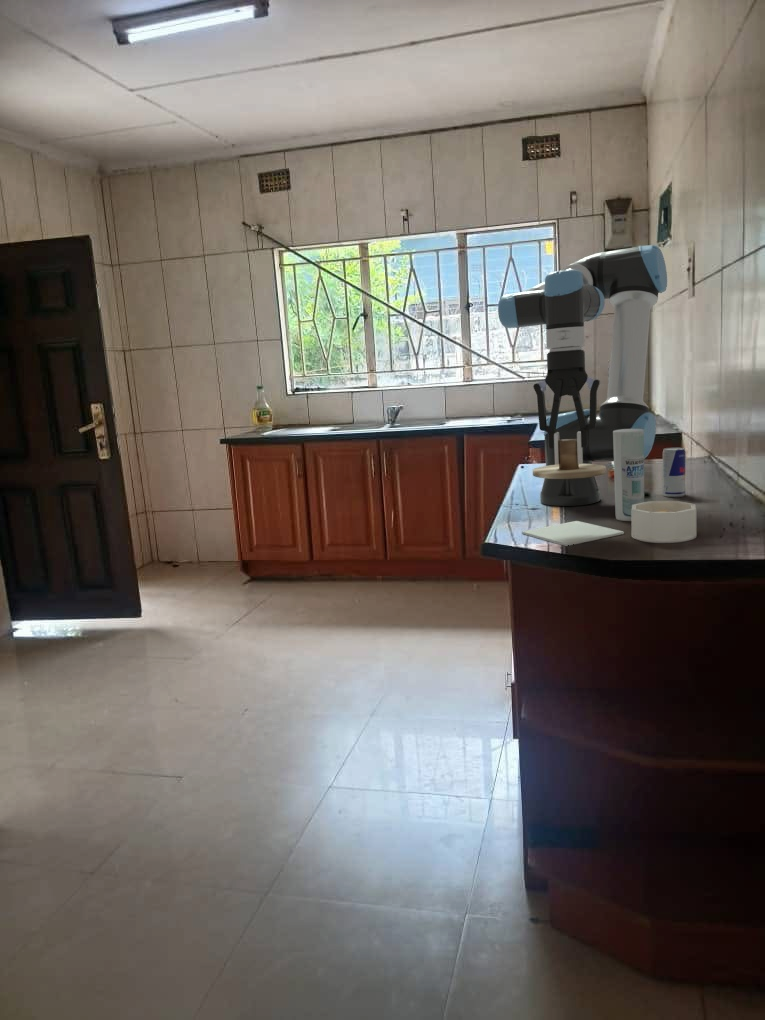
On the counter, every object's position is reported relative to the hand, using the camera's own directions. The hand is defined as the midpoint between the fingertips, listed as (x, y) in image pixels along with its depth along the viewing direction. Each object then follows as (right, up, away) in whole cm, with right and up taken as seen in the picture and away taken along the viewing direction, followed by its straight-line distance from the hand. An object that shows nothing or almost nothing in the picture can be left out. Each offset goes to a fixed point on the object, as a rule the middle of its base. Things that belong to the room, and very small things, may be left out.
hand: (568, 463), depth 157 cm
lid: (0, -2, 0) cm, 2 cm away
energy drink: (+36, -6, +35) cm, 50 cm away
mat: (+1, -15, +3) cm, 15 cm away
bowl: (+18, -15, -5) cm, 24 cm away
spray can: (+17, -12, +14) cm, 25 cm away
